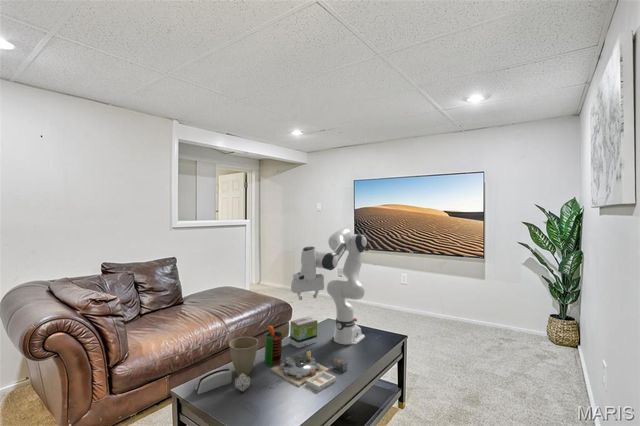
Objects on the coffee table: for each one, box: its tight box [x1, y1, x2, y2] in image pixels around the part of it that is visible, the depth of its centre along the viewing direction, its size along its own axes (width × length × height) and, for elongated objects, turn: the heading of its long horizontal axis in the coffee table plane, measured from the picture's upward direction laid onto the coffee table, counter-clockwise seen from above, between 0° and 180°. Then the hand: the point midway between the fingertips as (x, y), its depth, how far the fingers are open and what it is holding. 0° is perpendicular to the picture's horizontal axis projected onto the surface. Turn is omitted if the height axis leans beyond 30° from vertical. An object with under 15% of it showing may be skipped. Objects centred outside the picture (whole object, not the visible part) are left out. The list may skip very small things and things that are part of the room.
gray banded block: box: [332, 357, 348, 373], centre depth 179 cm, size 4×7×4 cm, turn 46°
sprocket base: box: [270, 364, 330, 387], centre depth 176 cm, size 22×22×1 cm
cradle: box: [305, 371, 337, 392], centre depth 164 cm, size 12×8×2 cm
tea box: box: [289, 316, 318, 349], centre depth 212 cm, size 15×10×15 cm, turn 131°
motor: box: [264, 325, 283, 367], centre depth 186 cm, size 10×9×20 cm
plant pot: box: [228, 336, 259, 376], centre depth 174 cm, size 15×15×16 cm
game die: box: [233, 371, 252, 394], centre depth 157 cm, size 9×8×10 cm
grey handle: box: [194, 367, 232, 395], centre depth 159 cm, size 17×5×10 cm, turn 131°
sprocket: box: [279, 350, 321, 379], centre depth 176 cm, size 21×21×7 cm
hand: (307, 298), depth 191 cm, fingers open, 8 cm apart
